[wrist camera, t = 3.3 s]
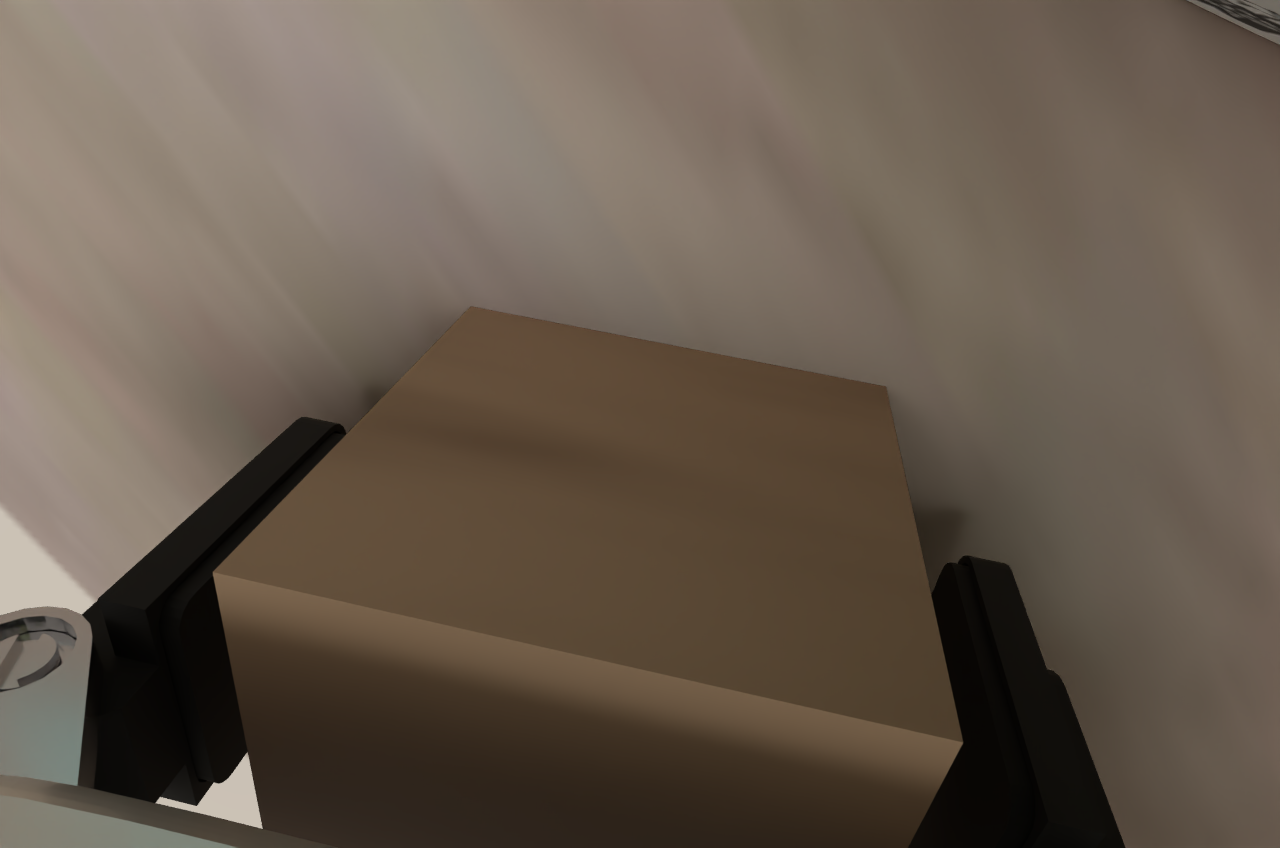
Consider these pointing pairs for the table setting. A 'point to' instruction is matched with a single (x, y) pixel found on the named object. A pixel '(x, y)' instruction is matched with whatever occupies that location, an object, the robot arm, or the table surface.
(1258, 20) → the tea box
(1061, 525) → the table surface
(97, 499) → the table surface
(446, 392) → the walnut cube
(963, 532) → the table surface
